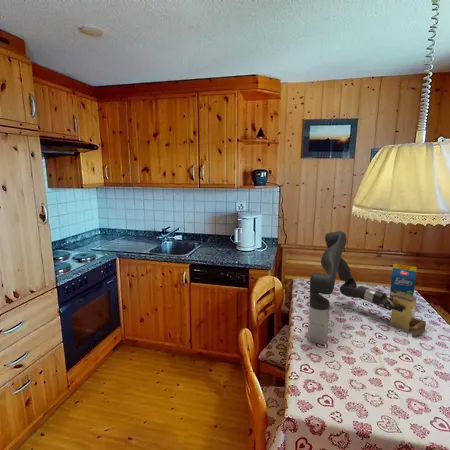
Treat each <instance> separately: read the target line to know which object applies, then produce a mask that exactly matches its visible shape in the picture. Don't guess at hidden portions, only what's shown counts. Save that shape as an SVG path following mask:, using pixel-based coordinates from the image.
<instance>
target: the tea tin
mask: <svg viewBox="0 0 450 450" xmlns="http://www.w3.org/2000/svg"><path fill="white" fill-rule="evenodd" d="M393 304H394V305H396V306H399V307H402V308H403V312H399V311H397V310H392V309H391V313H390V314H391V315H390V322H389V323H390V324H391V325H393V326H396V327H398V328H401V329H403V330H406V331H410V330H411V329H413V322H414V317H415V313H416V305H417V297H415V296H413V297H412V296H409V295H406V294H403V293H399V292H397V293H395V294H394V295H393Z"/></svg>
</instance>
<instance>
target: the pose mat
mask: <svg viewBox="0 0 450 450" xmlns="http://www.w3.org/2000/svg"><path fill="white" fill-rule="evenodd" d="M387 326H389V327H393V328H395V329H397V330H400V331H401V332H404V333H407V334H411V333H412V332H413V329H411V330H410V331H406V330H403V329H401V328H398V327H396V326H393V325H391V324H390V322H388V323H387Z"/></svg>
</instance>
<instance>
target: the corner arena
mask: <svg viewBox="0 0 450 450" xmlns="http://www.w3.org/2000/svg"><path fill="white" fill-rule="evenodd" d="M426 326H427V321H425V320H423V319H420V318H418V317H415V316H414V322H413V331H412V332H411V333H412V334H411V337H413V338H414V339H416V338H417V337H419V336H420V335H421V334H423V333H424V332H425V331H426Z"/></svg>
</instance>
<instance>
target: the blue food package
mask: <svg viewBox="0 0 450 450" xmlns="http://www.w3.org/2000/svg"><path fill="white" fill-rule="evenodd" d="M417 270H418V267H417V266H410V265H404V264H398V263H393V266H392V272H391V273H392V274H391V281H390V282H391V283H390V293H389V297H392V296H393V295H394V294H395V293H397V292H399V293H403V294H406V295H409V296H412V297H414V294H415V287H416V286H415V285H416V277H417Z"/></svg>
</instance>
